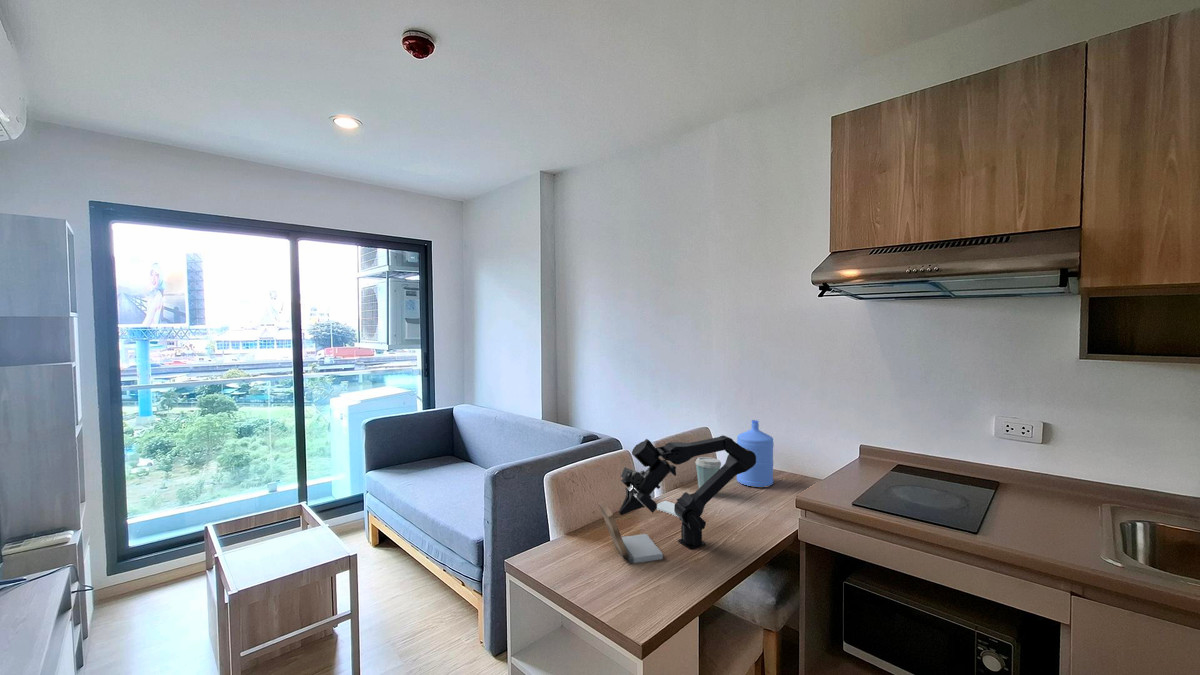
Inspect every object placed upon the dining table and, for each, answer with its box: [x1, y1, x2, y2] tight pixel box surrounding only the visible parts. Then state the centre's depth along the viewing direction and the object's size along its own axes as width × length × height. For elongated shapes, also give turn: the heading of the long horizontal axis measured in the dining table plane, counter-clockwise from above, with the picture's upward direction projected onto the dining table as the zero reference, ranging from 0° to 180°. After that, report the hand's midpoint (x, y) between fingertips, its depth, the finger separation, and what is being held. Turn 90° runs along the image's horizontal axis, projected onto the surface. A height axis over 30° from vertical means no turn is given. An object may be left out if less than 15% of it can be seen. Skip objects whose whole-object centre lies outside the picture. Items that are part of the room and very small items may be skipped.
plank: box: [597, 499, 629, 560], centre depth 143 cm, size 14×12×2 cm
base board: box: [621, 533, 664, 564], centre depth 145 cm, size 10×14×2 cm
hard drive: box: [656, 500, 679, 518], centre depth 177 cm, size 2×8×12 cm
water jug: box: [736, 419, 774, 487], centre depth 208 cm, size 16×16×28 cm
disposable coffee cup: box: [694, 456, 722, 489], centre depth 194 cm, size 11×11×15 cm
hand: (620, 514), depth 143 cm, fingers closed
